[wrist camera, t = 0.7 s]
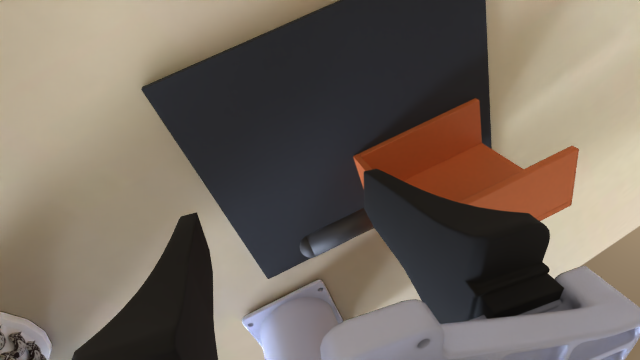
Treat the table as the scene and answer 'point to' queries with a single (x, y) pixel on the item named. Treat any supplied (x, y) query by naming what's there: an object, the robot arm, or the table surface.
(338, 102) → the mat
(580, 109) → the table surface
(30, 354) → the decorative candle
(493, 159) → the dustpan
